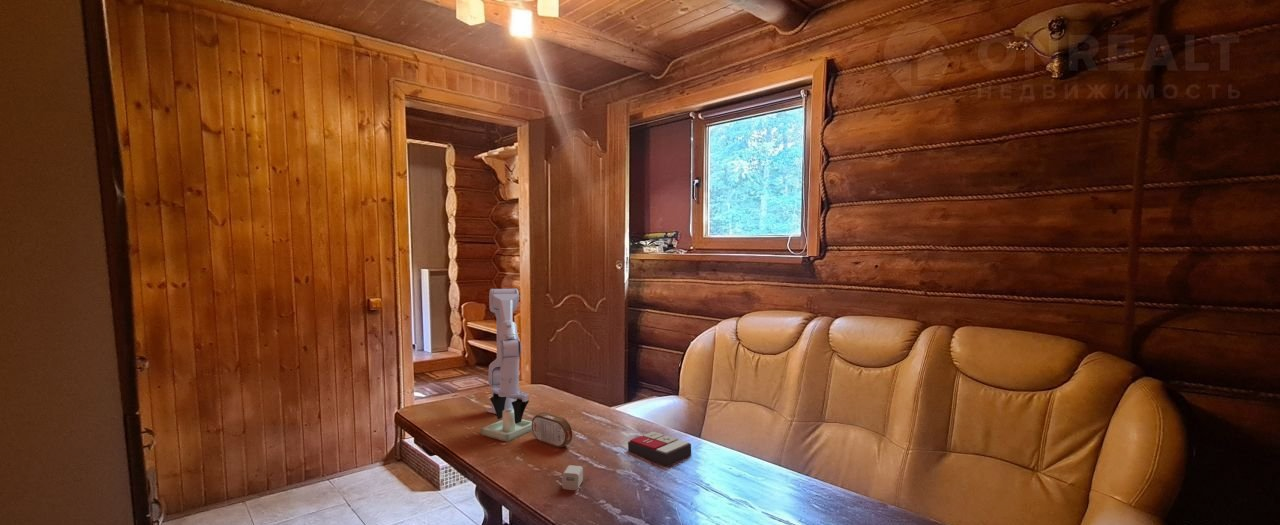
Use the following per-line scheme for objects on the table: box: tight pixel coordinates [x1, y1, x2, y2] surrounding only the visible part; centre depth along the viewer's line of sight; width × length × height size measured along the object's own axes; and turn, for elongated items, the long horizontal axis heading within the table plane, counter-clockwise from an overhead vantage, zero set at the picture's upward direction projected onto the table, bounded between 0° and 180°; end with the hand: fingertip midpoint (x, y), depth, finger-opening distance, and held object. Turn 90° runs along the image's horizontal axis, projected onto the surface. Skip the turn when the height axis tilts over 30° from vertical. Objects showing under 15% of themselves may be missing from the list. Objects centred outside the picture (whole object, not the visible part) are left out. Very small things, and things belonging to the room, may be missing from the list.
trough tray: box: [480, 418, 533, 443], centre depth 154 cm, size 13×11×2 cm
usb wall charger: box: [561, 464, 584, 491], centre depth 120 cm, size 4×7×4 cm, turn 172°
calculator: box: [627, 431, 692, 468], centre depth 139 cm, size 11×4×15 cm
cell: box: [501, 408, 515, 432], centre depth 154 cm, size 4×4×6 cm
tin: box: [531, 411, 573, 449], centre depth 145 cm, size 15×3×8 cm, turn 55°
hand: (509, 420), depth 154 cm, fingers open, 7 cm apart
